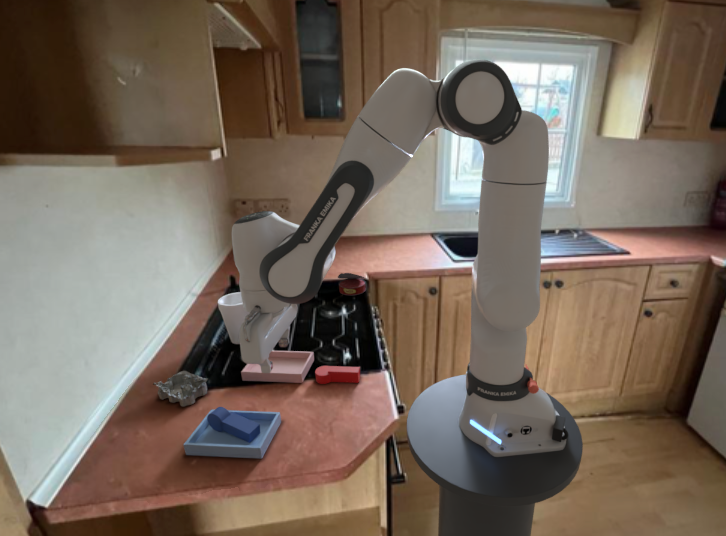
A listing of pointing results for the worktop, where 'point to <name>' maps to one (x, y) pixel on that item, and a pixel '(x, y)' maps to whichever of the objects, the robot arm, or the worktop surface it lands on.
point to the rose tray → (281, 367)
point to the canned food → (351, 284)
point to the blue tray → (233, 437)
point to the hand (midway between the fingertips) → (276, 357)
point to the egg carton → (182, 388)
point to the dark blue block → (233, 424)
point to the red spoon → (337, 374)
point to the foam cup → (232, 314)
